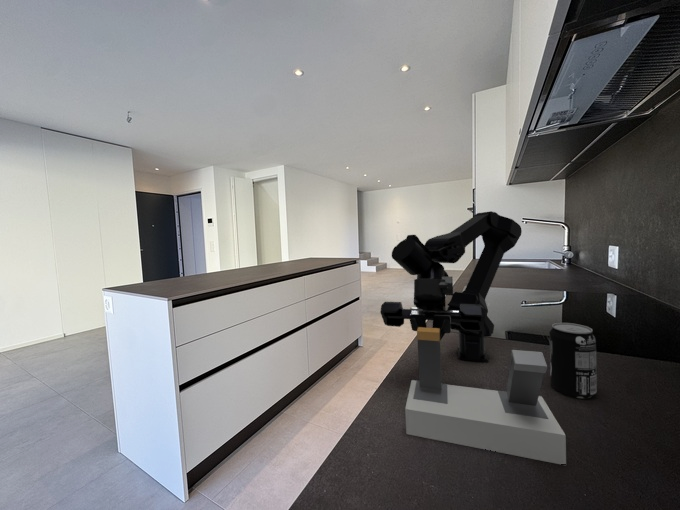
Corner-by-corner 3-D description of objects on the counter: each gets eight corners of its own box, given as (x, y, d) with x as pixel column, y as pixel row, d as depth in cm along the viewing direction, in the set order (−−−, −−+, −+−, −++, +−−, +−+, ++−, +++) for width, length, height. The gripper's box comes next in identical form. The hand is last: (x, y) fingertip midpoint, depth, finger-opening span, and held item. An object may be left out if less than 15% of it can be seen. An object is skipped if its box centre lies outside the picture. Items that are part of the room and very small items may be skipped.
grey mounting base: (412, 401, 50) (411, 379, 50) (542, 421, 43) (541, 396, 43) (406, 434, 42) (405, 408, 42) (566, 465, 35) (565, 434, 34)
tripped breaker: (420, 381, 48) (418, 327, 47) (441, 384, 46) (439, 328, 46) (419, 388, 46) (416, 331, 45) (441, 391, 44) (439, 332, 44)
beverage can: (551, 378, 55) (549, 320, 55) (595, 387, 51) (594, 325, 51) (549, 392, 50) (548, 329, 50) (598, 404, 46) (597, 335, 46)
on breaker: (506, 390, 43) (511, 349, 38) (532, 393, 41) (542, 352, 36) (509, 404, 41) (515, 363, 36) (536, 407, 40) (547, 366, 35)
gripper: (380, 262, 56) (368, 333, 46) (482, 260, 49) (494, 342, 39) (389, 293, 63) (381, 359, 54) (478, 295, 57) (487, 371, 47)
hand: (429, 358), depth 48 cm, fingers closed
